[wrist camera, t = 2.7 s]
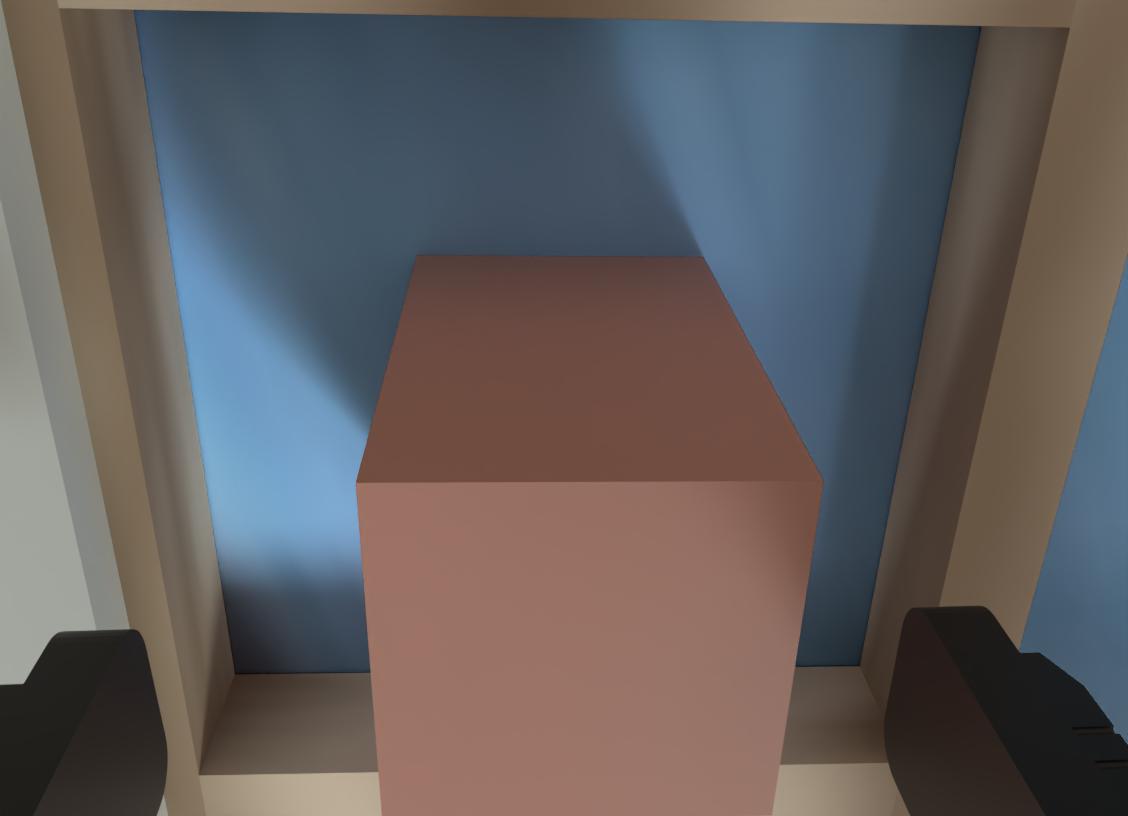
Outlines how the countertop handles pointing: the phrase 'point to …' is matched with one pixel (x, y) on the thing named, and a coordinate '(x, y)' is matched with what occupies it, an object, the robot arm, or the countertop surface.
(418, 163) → the countertop surface
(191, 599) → the board
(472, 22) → the countertop surface
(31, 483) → the cover
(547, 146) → the countertop surface
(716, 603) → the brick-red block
